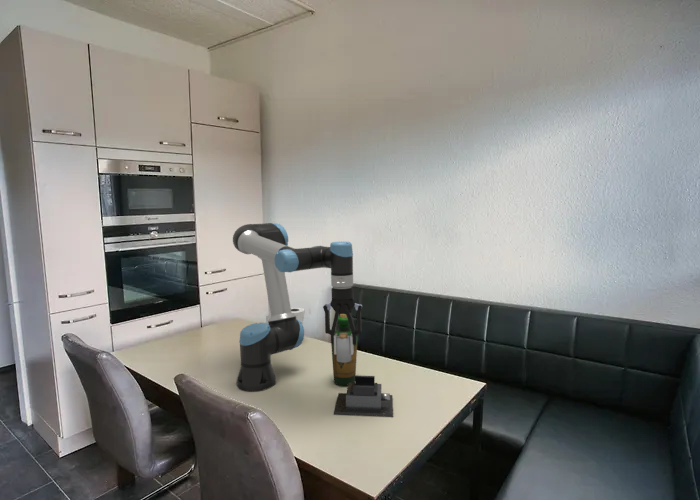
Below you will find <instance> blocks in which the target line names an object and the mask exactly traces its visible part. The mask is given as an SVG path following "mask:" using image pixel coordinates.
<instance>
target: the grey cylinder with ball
mask: <svg viewBox="0 0 700 500" xmlns="http://www.w3.org/2000/svg"><path fill="white" fill-rule="evenodd" d="M336 346H337V361H338V362H342V363H345V362H350V361H351V351H350V336H347V333H340V334H339V336H337V337H336Z"/></svg>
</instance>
